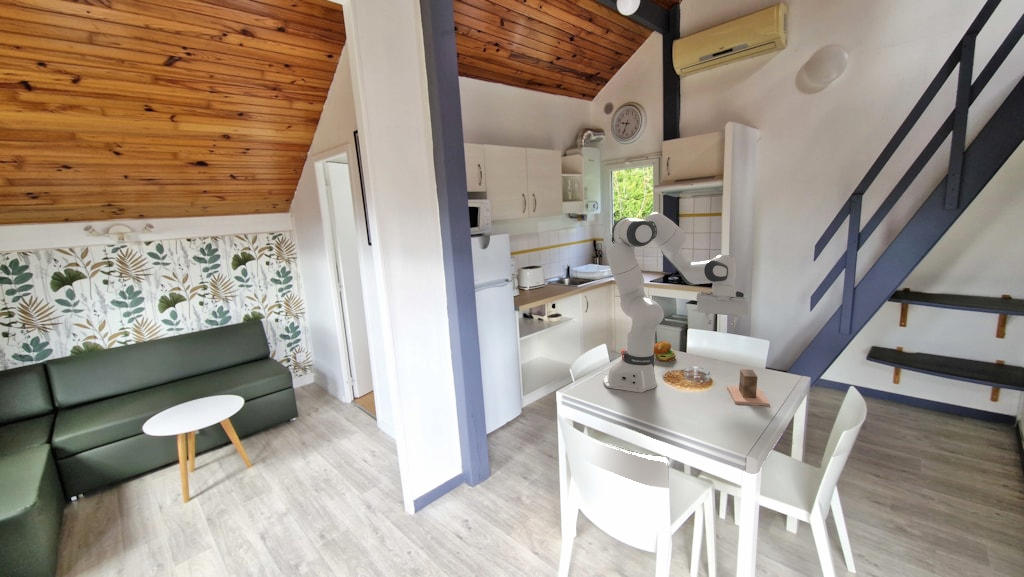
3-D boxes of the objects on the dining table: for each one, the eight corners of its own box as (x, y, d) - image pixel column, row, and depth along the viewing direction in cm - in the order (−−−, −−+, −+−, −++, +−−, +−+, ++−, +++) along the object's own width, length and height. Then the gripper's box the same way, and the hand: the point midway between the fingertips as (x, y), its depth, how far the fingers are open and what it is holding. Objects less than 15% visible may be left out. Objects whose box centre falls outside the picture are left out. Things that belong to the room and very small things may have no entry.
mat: (734, 403, 167) (735, 401, 167) (727, 388, 180) (727, 385, 180) (769, 406, 164) (769, 403, 164) (759, 390, 177) (759, 387, 177)
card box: (743, 397, 170) (744, 376, 168) (738, 389, 176) (740, 369, 174) (755, 398, 168) (757, 376, 166) (751, 390, 175) (752, 369, 173)
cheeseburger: (680, 361, 210) (676, 342, 208) (659, 367, 210) (655, 349, 208) (671, 353, 220) (667, 336, 218) (651, 359, 220) (647, 342, 218)
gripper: (697, 290, 186) (695, 322, 185) (750, 294, 180) (749, 327, 179) (696, 291, 192) (694, 323, 191) (747, 295, 186) (745, 327, 185)
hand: (721, 325), depth 185 cm, fingers open, 8 cm apart
